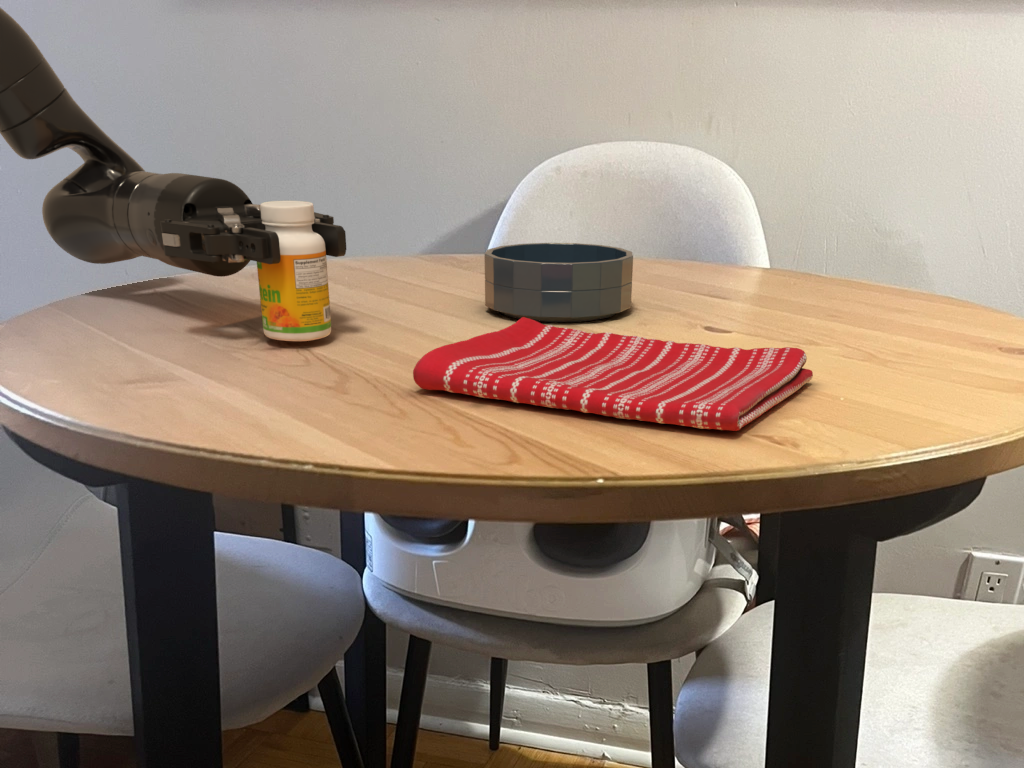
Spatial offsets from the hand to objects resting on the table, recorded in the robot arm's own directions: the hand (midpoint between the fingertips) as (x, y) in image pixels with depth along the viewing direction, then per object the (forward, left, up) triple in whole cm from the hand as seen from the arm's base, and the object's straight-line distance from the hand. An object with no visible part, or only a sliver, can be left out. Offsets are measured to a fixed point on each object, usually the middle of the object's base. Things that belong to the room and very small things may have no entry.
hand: (309, 245), depth 88 cm
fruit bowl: (+23, -11, -7) cm, 26 cm away
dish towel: (-2, -26, -8) cm, 27 cm away
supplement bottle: (+1, +2, -7) cm, 8 cm away
